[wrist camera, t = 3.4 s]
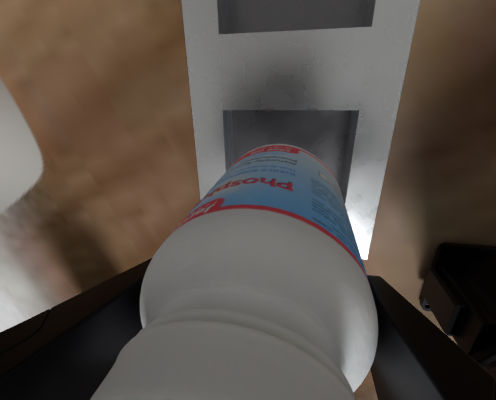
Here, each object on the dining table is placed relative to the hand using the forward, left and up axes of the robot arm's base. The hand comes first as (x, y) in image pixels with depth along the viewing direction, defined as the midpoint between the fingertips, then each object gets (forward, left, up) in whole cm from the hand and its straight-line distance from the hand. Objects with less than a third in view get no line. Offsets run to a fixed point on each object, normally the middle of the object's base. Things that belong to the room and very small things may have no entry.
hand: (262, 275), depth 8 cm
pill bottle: (0, 0, -6) cm, 6 cm away
